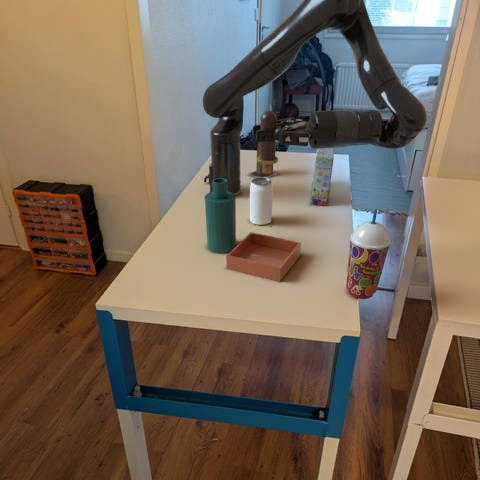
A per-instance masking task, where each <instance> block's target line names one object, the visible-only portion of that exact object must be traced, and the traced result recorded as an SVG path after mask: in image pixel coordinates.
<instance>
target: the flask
mask: <svg viewBox="0 0 480 480" xmlns="http://www.w3.org/2000/svg"><path fill="white" fill-rule="evenodd" d="M212 187H213V192H210V191H209V192H207V193H206V194H205V195H204V207H205V228H206V229H205V230H206V245H207V250H208V251H210V252H212V253H215V254H229V253H230V252H231V251H232V250H233V249H234V248H235V247H236V246H237V212H236V211H237V203H236V202H237V200H236V199H237V196H235V194H233V193H231V192H228V191H227V180H226V179H223V178H216V179H214V180H213V181H212Z"/></svg>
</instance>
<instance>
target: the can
mask: <svg viewBox="0 0 480 480" xmlns="http://www.w3.org/2000/svg"><path fill="white" fill-rule="evenodd" d="M273 195H274V187H273V183H272V180H271V179H270V178H269V177H268V178H255V177H254V178H253V179H251V184H250V186H249V221H250V223H251V224H253V225H256V226H266V225H268V224H270V223H271V222H272V217H273V197H274V196H273Z"/></svg>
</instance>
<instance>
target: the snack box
mask: <svg viewBox="0 0 480 480" xmlns="http://www.w3.org/2000/svg"><path fill="white" fill-rule="evenodd" d="M334 156H335V148H320V149H316V154H315V162H314V169H313V179H312V189H311V202H310V205H317V206H327V205H328V201H329V196H330V195H329V194H330V189H331V181H332V175H333V167H334V159H335V157H334Z"/></svg>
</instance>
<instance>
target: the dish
mask: <svg viewBox="0 0 480 480" xmlns="http://www.w3.org/2000/svg"><path fill="white" fill-rule="evenodd" d="M301 249H302V242H299V241H295V240H290V239H286V238H282V237H276V236H271V235H266V234H263V233H257V232H253V231H250V232H249V233H248V234H247V235H246V236H245V237H244V238H243V239H242V240H241V241H240V242H239V243H237V244H236V247H235V248H234V249H233V250H232V251H231V252H228V253H227V254H226V256H225V257H226V269H227V270H230V271H231V270H232V271H236V272H238V273H239V272H240V273H244V274H247V275H250V276H251V275H252V276H256V277H260V278H263V279H268V280H270V281H271V280H272V281H276V282H281V281H282V279H283V278H284V277H285V276H286V274H287V273H288V272H289V271H290V269H291V268H292V267H293V265H294V264H295V263H296V261H297V260H298V259H299V258H300V256H301V251H302V250H301Z"/></svg>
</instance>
